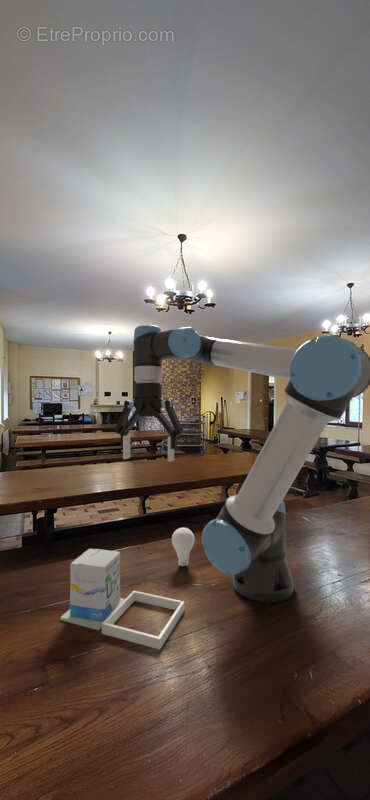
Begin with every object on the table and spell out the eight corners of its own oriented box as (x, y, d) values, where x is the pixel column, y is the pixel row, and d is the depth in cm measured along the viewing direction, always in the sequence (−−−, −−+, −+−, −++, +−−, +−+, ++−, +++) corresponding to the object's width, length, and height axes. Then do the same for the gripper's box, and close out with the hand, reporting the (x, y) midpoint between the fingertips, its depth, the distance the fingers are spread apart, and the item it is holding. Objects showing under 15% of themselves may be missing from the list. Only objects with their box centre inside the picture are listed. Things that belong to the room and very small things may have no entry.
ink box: (104, 622, 72) (103, 567, 72) (68, 616, 74) (68, 563, 75) (121, 599, 81) (121, 550, 81) (89, 595, 83) (89, 547, 83)
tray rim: (184, 610, 77) (184, 601, 77) (160, 649, 65) (159, 639, 65) (133, 598, 82) (133, 590, 82) (101, 633, 70) (101, 623, 70)
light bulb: (168, 569, 96) (167, 530, 97) (177, 559, 103) (177, 523, 103) (189, 573, 94) (189, 533, 94) (198, 563, 100) (197, 525, 100)
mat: (126, 601, 81) (126, 599, 81) (98, 630, 71) (98, 627, 71) (91, 593, 85) (91, 591, 85) (60, 619, 74) (60, 617, 74)
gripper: (194, 382, 93) (195, 459, 93) (116, 384, 102) (116, 455, 102) (185, 380, 86) (185, 464, 86) (101, 383, 95) (102, 459, 95)
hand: (148, 459), depth 94 cm, fingers open, 13 cm apart
